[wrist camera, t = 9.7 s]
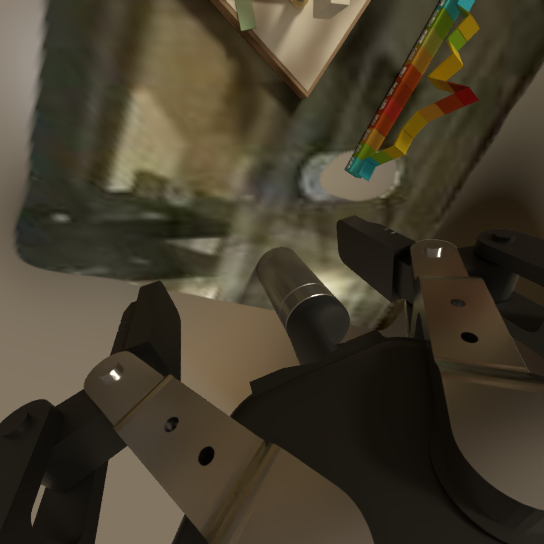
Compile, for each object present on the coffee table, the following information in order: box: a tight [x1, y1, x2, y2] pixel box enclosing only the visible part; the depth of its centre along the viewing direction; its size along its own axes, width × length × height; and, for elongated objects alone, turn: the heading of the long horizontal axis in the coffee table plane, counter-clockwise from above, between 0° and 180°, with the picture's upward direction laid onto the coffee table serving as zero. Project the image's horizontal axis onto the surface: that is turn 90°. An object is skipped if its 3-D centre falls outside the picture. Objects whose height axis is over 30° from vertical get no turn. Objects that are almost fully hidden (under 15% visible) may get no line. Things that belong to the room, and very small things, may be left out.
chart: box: [345, 0, 480, 181], centre depth 37 cm, size 30×3×15 cm, turn 151°
